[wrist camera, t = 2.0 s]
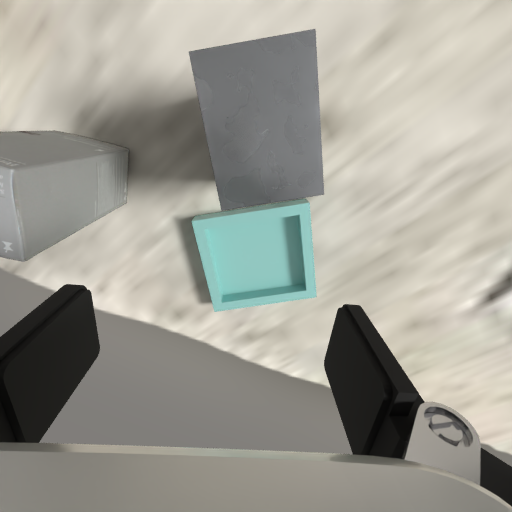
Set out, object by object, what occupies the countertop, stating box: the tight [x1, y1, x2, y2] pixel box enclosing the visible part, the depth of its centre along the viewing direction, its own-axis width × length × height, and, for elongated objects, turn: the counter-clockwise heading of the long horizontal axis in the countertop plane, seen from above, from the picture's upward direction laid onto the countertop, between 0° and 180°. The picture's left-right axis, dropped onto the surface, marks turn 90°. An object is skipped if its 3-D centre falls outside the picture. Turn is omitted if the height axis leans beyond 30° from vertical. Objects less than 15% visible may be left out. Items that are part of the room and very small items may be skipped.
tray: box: [192, 199, 316, 312], centre depth 34 cm, size 12×13×2 cm
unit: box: [189, 29, 324, 211], centre depth 23 cm, size 11×9×14 cm
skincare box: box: [0, 131, 129, 261], centre depth 23 cm, size 8×7×16 cm
